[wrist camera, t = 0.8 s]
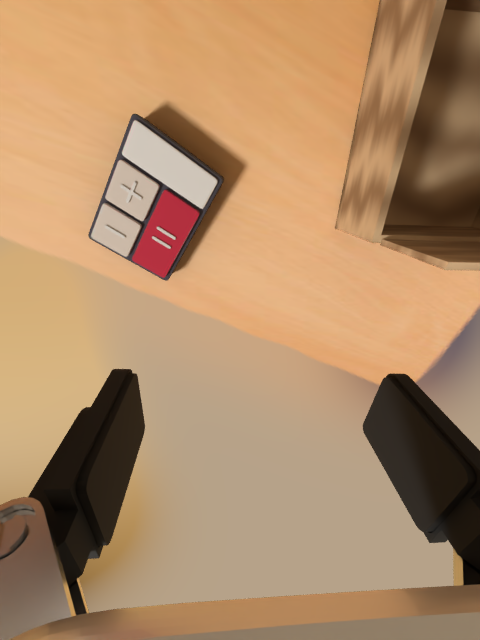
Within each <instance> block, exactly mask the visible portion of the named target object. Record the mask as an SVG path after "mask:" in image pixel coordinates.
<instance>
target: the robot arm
mask: <svg viewBox="0 0 480 640" xmlns="http://www.w3.org/2000/svg"><path fill="white" fill-rule="evenodd" d="M144 429H145V424H144V416H143V410H142V403H141V397H140V390H139V384H138V377H137V374H133V373H132V371H131V370H130V369H114V370H112V372H111V373H110V375H109V377H108V378H107V380H106V382H105V384H104V385H103V387H102V389H101V391H100V392H99V394H98V396H97V398H96V399H95V401H94V403H93V404H92V406H91V407H86V408H84V409H83V410H82V411H81V412H80V413H79V415H78V416H77V418H76V420H75V421H74V423H73V425H72V426H71V428H70V429H69V431H68V433H67V434H66V436H65V437H64V439H63V441H62V443H61V444H60V446H59V448H58V449H57V451H56V452H55V454H54V455H53V457H52V459H51V460H50V462H49V464H48V465H47V467H46V468H45V470H44V472H43V474H42V475H41V477H40V478H39V480H38V482H37V483H36V485H35V487H34V488H33V490H32V491H31V493H30V495H29V497H23V498H18V499H13V500H11V501H8V502H6V503H4V504H2V505H0V640H480V451H479V449H477V447H476V446H475V445H474V444H473V443H472V442H471V441H470V440H469V439H468V438H467V437H466V436H465V435H464V434H463V433H462V432H461V431H460V430H459V428H458V427H457V426H456V425H455V424H454V423H453V422H452V421H451V420H450V419H449V418H448V417H447V416H446V415H445V414H444V413H443V412H442V411H441V410H440V409H439V407H437V405H436V404H435V403H434V402H433V401H432V400H431V399H430V398H429V397H428V396H427V395H426V394H425V393H424V392H423V391H422V390H421V389H420V388H419V387H418V385H416V383H415V382H414V381H413V380H412V379H411V378H410V377H409V376H408V375H406V374H388V375H387V376H386V377H385V378H384V379H383V380H382V382H381V385H380V387H379V390H378V392H377V394H376V396H375V398H374V401H373V403H372V405H371V407H370V410H369V412H368V414H367V416H366V419H365V421H364V423H363V431H364V434H365V435H366V437H367V439H368V441H369V443H370V444H371V446H372V448H373V449H374V451H375V453H376V455H377V456H378V459H379V460H380V462H381V464H382V466H383V467H384V469H385V471H386V472H387V474H388V476H389V478H390V480H391V481H392V483H393V485H394V487H395V489H396V491H397V492H398V494H399V496H400V498H401V499H402V501H403V503H404V505H405V506H406V508H407V510H408V512H409V514H410V515H411V517H412V519H413V521H414V522H415V524H416V526H417V527H418V528H419V529H420V530H421V531H422V532H424V534H425V536H426V537H427V539H428V541H429V543H438V542H446V541H447V540H449V542H450V543H451V545H452V546H453V565H454V566H453V572H454V573H453V574H454V586H443V587H425V588H407V589H391V590H374V591H358V592H341V593H326V594H310V595H294V596H279V597H264V598H249V599H235V600H222V601H205V602H192V603H178V604H167V605H157V606H145V607H134V608H122V609H113V610H107V611H100V612H93V613H89V610H88V607H87V604H86V600H85V597H84V594H83V591H82V588H81V584H80V581H79V577H80V576H81V575H82V574H83V571H84V568H85V565H86V562H87V560H88V559H91V558H99V557H100V554H101V551H102V548H103V545H108V544H109V543H110V541H111V538H112V536H113V532H114V529H115V526H116V523H117V519H118V516H119V513H120V510H121V506H122V503H123V500H124V497H125V493H126V490H127V487H128V484H129V480H130V477H131V474H132V471H133V467H134V464H135V461H136V458H137V454H138V451H139V448H140V445H141V441H142V438H143V435H144Z"/></svg>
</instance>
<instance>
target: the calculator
mask: <svg viewBox="0 0 480 640" xmlns="http://www.w3.org/2000/svg"><path fill="white" fill-rule="evenodd" d="M223 180H224V179H223V177H222V176H221V175H220V174H218V173H217V172H216V171H214V170H213V169H212V168H210V167H209V166H208V165H206V164H205V163H204V162H202V161H201V160H200V159H198V158H197V157H196V156H194V155H193V154H192V153H190V152H189V151H188V150H186V149H185V148H183V147H182V146H181V145H179V144H178V143H177V142H175V141H174V140H173V139H171V138H170V137H169V136H167V135H166V134H165V133H163V132H162V131H161V130H159V129H158V128H157V127H155V126H154V125H153V124H151V123H150V122H149V121H147V120H146V119H144V118H142V117H141V116H139V115H137V114H133V115H132V116H131V119H130V121H129V124H128V127H127V130H126V132H125V135H124V138H123V141H122V143H121V146H120V149H119V152H118V154H117V157H116V160H115V163H114V165H113V168H112V171H111V174H110V176H109V179H108V182H107V185H106V188H105V190H104V193H103V196H102V199H101V201H100V204H99V207H98V210H97V212H96V215H95V218H94V221H93V223H92V226H91V229H90V232H89V238H90V239H92V240H93V241H95V242H97V243H99V244H100V245H102V246H104V247H106V248H108V249H109V250H111V251H113V252H115V253H117V254H118V255H120V256H122V257H124V258H125V259H127V260H129V261H131V262H133V263H134V264H136V265H138V266H140V267H142V268H143V269H145V270H147V271H149V272H151V273H152V274H154V275H156V276H158V277H160V278H161V279H163V280H168V279H169V278H170V276H171V274H172V273H173V271H174V269H175V267H176V266H177V264H178V262H179V260H180V258H181V257H182V255H183V253H184V251H185V249H186V248H187V246H188V244H189V242H190V240H191V239H192V237H193V235H194V233H195V231H196V230H197V228H198V226H199V224H200V223H201V221H202V219H203V217H204V215H205V214H206V212H207V210H208V208H209V206H210V205H211V203H212V201H213V199H214V197H215V196H216V194H217V192H218V190H219V188H220V187H221V185H222V183H223Z"/></svg>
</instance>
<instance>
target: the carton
mask: <svg viewBox="0 0 480 640" xmlns="http://www.w3.org/2000/svg"><path fill="white" fill-rule="evenodd" d="M335 229H338V230H340V231H343V232H345V233H348V234H351V235H353V236H356V237H358V238H361V239H363V240H366V241H368V242H371V243H381V244H380V245H382V246H384V247H387V248H389V249H392V250H395V251H397V252H400V253H402V254H405V255H407V256H410V257H413V258H415V259H418V260H420V261H423V262H426V263H428V264H431V265H433V266H436V267H439V268H441V269H444V270H472V271H480V0H380V3H379V8H378V13H377V18H376V23H375V28H374V33H373V38H372V43H371V48H370V54H369V59H368V64H367V69H366V74H365V79H364V84H363V89H362V94H361V99H360V104H359V109H358V114H357V120H356V125H355V130H354V135H353V140H352V145H351V150H350V155H349V160H348V165H347V170H346V175H345V180H344V186H343V191H342V196H341V201H340V206H339V211H338V216H337V221H336V226H335Z"/></svg>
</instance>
